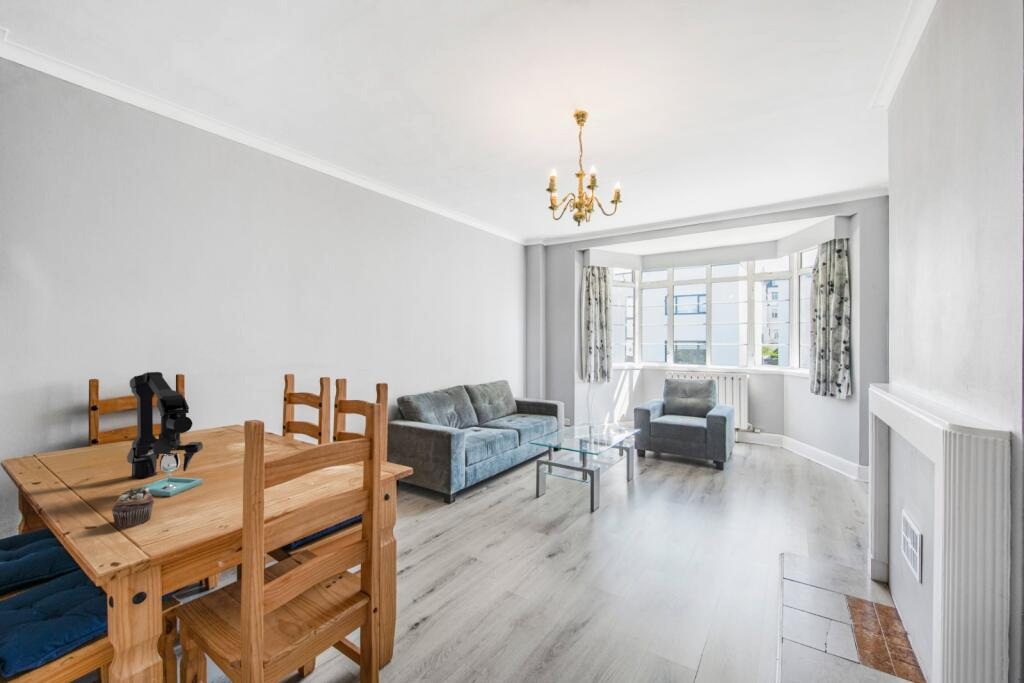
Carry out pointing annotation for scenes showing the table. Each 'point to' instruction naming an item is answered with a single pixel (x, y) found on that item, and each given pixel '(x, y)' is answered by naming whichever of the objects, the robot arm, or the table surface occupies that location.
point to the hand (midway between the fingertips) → (169, 471)
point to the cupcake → (133, 508)
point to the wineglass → (169, 466)
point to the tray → (181, 484)
